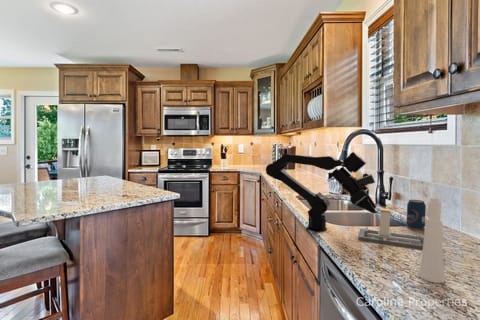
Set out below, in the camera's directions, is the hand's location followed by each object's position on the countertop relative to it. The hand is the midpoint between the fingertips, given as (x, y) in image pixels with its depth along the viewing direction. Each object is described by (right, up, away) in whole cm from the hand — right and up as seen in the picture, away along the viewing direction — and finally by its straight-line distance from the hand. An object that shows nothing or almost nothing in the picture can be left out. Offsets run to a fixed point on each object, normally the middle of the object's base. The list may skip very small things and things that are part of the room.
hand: (375, 210), depth 107 cm
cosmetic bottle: (-1, -13, -32) cm, 35 cm away
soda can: (+25, -11, +15) cm, 31 cm away
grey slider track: (+6, -11, -2) cm, 13 cm away
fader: (+3, -10, -1) cm, 10 cm away
